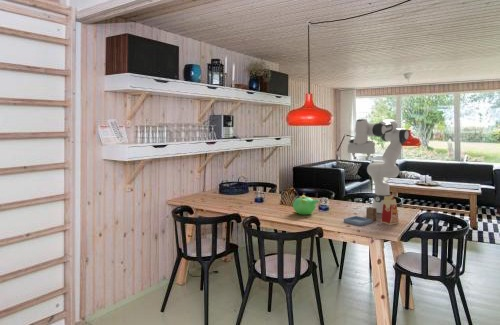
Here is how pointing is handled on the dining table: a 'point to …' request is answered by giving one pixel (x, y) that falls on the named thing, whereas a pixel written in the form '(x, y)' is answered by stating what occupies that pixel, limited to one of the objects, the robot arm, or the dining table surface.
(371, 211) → the walnut block
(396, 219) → the milk carton
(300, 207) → the green teapot
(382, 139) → the robot arm
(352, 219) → the slate tray
